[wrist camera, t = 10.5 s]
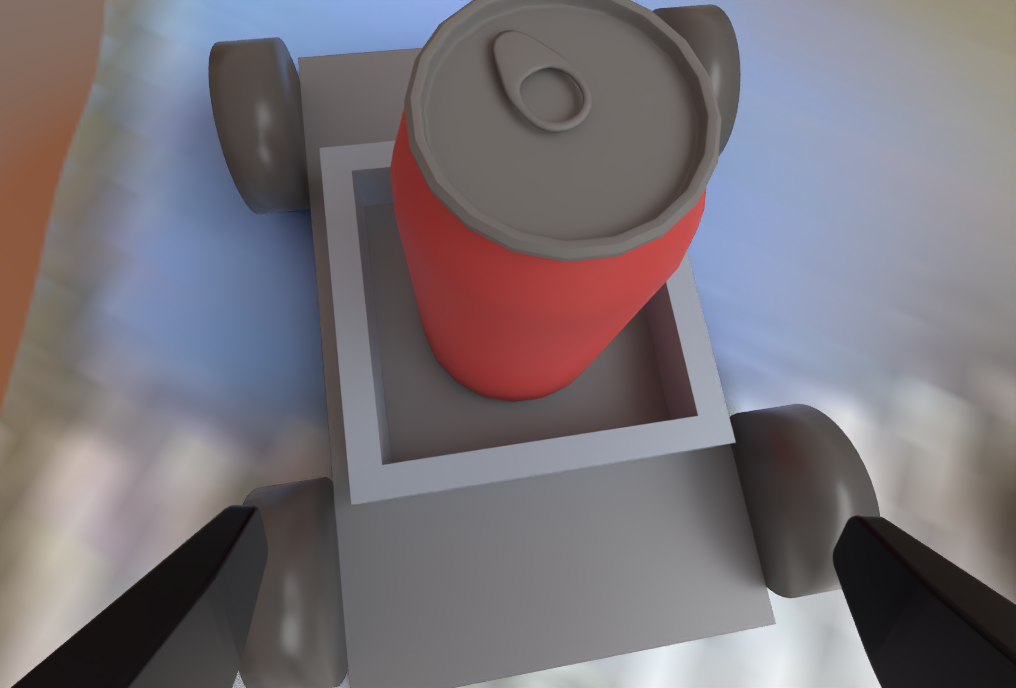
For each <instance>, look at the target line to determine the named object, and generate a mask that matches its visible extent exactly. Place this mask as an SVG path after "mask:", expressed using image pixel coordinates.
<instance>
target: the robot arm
mask: <svg viewBox="0 0 1016 688" xmlns="http://www.w3.org/2000/svg"><path fill="white" fill-rule="evenodd" d="M267 558H268V542H267V537H266V532H265V527H264V522H263V517H262V513H261V510H260V509H259V508H258V507H257V506H243V505H233V506H229V507H227V508H226V509H224V510H223V511H222V512H221V513H219V514H218V515H217V516H216V517H215V518H213V519H212V520H211V521H210V522H209V523H207V524H206V525H205V526H204V527H203V528H201V529H200V530H199V531H198V532H197V533H195V534H194V535H193V536H192V537H191V538H189V539H188V540H187V541H186V542H185V543H183V544H182V545H181V546H180V547H179V548H178V549H176V550H175V551H174V552H173V553H172V554H170V555H169V556H168V557H167V558H166V559H164V560H163V561H162V562H161V563H160V564H158V565H157V566H156V567H155V568H154V569H152V570H151V571H150V572H149V573H148V574H146V575H145V576H144V577H143V578H142V579H140V580H139V581H138V582H137V583H136V584H134V585H133V586H132V587H131V588H130V589H128V590H127V591H126V592H125V593H124V594H122V595H121V596H120V597H119V598H118V599H116V600H115V601H114V602H113V603H112V604H110V605H109V606H108V607H107V608H106V609H104V610H103V611H102V612H101V613H100V614H98V615H97V616H96V617H95V618H94V619H92V620H91V621H90V622H89V623H88V624H86V625H85V626H84V627H83V628H82V629H80V630H79V631H78V632H77V633H76V634H74V635H73V636H72V637H71V638H70V639H68V640H67V641H66V642H65V643H64V644H63V645H61V646H60V647H59V648H58V649H57V650H55V651H54V652H53V653H52V654H51V655H49V656H48V657H47V658H46V659H45V660H43V661H42V662H41V663H40V664H39V665H37V666H36V667H35V668H34V669H33V670H31V671H30V672H29V673H28V674H27V675H25V676H24V677H23V678H22V679H21V680H19V681H18V682H17V683H16V684H15V685H13V686H12V687H11V688H232V687H233V684H234V681H235V678H236V676H237V673H238V670H239V667H240V664H241V660H242V656H243V653H244V649H245V645H246V641H247V638H248V634H249V630H250V626H251V622H252V618H253V614H254V610H255V606H256V602H257V598H258V594H259V590H260V586H261V582H262V578H263V574H264V571H265V567H266V563H267ZM832 560H833V566H834V569H835V572H836V574H837V577H838V580H839V582H840V585H841V588H842V590H843V593H844V596H845V598H846V601H847V604H848V606H849V609H850V612H851V614H852V617H853V620H854V622H855V625H856V628H857V630H858V633H859V636H860V638H861V641H862V644H863V646H864V649H865V651H866V654H867V656H868V659H869V661H870V664H871V666H872V668H873V670H874V673H875V675H876V677H877V679H878V681H879V683H880V685H881V687H882V688H1016V604H1014V603H1012V602H1011V601H1009V600H1008V599H1006V598H1005V597H1003V596H1002V595H1000V594H999V593H997V592H996V591H994V590H993V589H991V588H990V587H988V586H987V585H985V584H984V583H982V582H981V581H979V580H978V579H976V578H974V577H973V576H971V575H970V574H968V573H967V572H965V571H964V570H962V569H961V568H959V567H958V566H956V565H955V564H953V563H952V562H950V561H949V560H947V559H946V558H944V557H943V556H941V555H939V554H938V553H936V552H935V551H933V550H932V549H930V548H929V547H927V546H926V545H924V544H923V543H921V542H920V541H918V540H917V539H915V538H914V537H912V536H911V535H909V534H908V533H906V532H905V531H903V530H901V529H900V528H898V527H897V526H895V525H894V524H892V523H891V522H889V521H888V520H886V519H885V518H883V517H880V516H876V515H854V516H852V517H850V518H849V519H848V521H847V522H846V524H845V526H844V528H843V531H842V533H841V535H840V537H839V539H838V541H837V543H836V545H835V547H834V549H833V554H832Z"/></svg>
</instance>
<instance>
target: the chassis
mask: <svg viewBox="0 0 1016 688" xmlns="http://www.w3.org/2000/svg"><path fill="white" fill-rule="evenodd" d="M652 12H653V13H655V14H656V15H657V16H658V17H659V18H660V19H662V20H663V21H664V22H665V23H666V24H667V25H669V26H670V27H671V28H672V29H673V30H674V31H676V32H677V33H678V34H679V35H680V36H681V37H683V38H684V39H685V40H686V41H687V43H688V44H689V46H690V47H691V49H692V50H693V52H694V53H695V55H696V56H697V58H698V60H699V61H700V63H701V64H702V66H703V67H704V69H705V70H706V72H707V73H708V75H709V76H710V78H711V82H712V86H713V89H714V93H715V97H716V101H717V104H718V108H719V112H720V116H721V119H722V120H721V132H720V143H719V155H718V157H719V156H720V154H721V153H722V151H723V150H724V148H725V146H726V144H727V142H728V140H729V137H730V135H731V132H732V129H733V125H734V122H735V118H736V113H737V108H738V102H739V93H740V58H739V50H738V44H737V39H736V36H735V32H734V29H733V26H732V24H731V22H730V20H729V18H728V16H727V15H726V14H725V12H724V11H723V10H722V9H721V8H719V7H717V6H716V5H698V6H684V7H671V8H659V9H655V10H654V11H652ZM422 49H423V48H415V49H402V50H390V51H377V52H365V53H352V54H340V55H327V56H315V57H302V58H298V62H299V75H300V80H299V77H298V74H297V71H296V68H295V65H294V63H293V60H292V58H291V55H290V53H289V51H288V49H287V47H286V45H285V44H284V42H283V41H282V40H281V39H280V38H264V39H250V40H237V41H224V42H217V43H215V44H214V45H213V46H212V49H211V52H210V57H209V88H210V96H211V103H212V109H213V115H214V119H215V124H216V128H217V132H218V137H219V140H220V144H221V147H222V150H223V154H224V157H225V160H226V163H227V165H228V168H229V171H230V173H231V176H232V178H233V180H234V183H235V185H236V187H237V189H238V191H239V193H240V195H241V196H242V198H243V200H244V201H245V203H246V204H247V206H248V207H249V208H250V209H251V210H252V211H253V212H254V213H256V214H269V213H278V212H287V211H297V210H306V209H311V221H312V233H313V245H314V257H315V269H316V282H317V294H318V306H319V318H320V330H321V342H322V355H323V367H324V379H325V391H326V403H327V415H328V428H329V440H330V452H331V464H332V476H333V483H332V481H331V480H330V479H328V478H326V477H325V478H318V479H312V480H305V481H299V482H292V483H286V484H280V485H273V486H267V487H260V488H256V489H255V490H253V491H252V492H251V493H250V494H249V495H248V497H247V498H246V500H245V501H244V503H243V506H257V507H258V508H259V509H260V510H261V513H262V517H263V522H264V527H265V532H266V537H267V542H268V558H267V563H266V567H265V571H264V574H263V578H262V582H261V586H260V590H259V594H258V598H257V602H256V606H255V610H254V614H253V618H252V622H251V626H250V630H249V634H248V638H247V641H246V645H245V649H244V653H243V656H242V660H241V664H240V667H239V673H240V676H241V678H242V680H243V683H244V685H245V687H246V688H332V687H337V686H339V685H340V684H341V683H342V682H343V680H344V678H345V675H346V672H347V669H348V671H349V683H350V688H455V687H460V686H465V685H470V684H476V683H481V682H486V681H491V680H496V679H501V678H506V677H511V676H516V675H521V674H526V673H531V672H536V671H541V670H546V669H551V668H556V667H561V666H566V665H571V664H576V663H581V662H586V661H591V660H597V659H602V658H607V657H612V656H617V655H622V654H627V653H632V652H637V651H642V650H647V649H652V648H657V647H662V646H667V645H672V644H677V643H682V642H687V641H692V640H697V639H702V638H707V637H713V636H718V635H723V634H728V633H733V632H738V631H743V630H748V629H753V628H758V627H763V626H768V625H773V624H776V623H775V619H774V615H773V611H772V607H771V603H770V599H769V595H768V591H767V588H769V589H770V590H771V591H773V592H774V593H776V594H777V595H780V596H782V597H786V598H796V597H801V596H807V595H812V594H817V593H822V592H827V591H832V590H837V589H842V588H841V585H840V582H839V580H838V577H837V574H836V572H835V569H834V566H833V560H832V554H833V549H834V547H835V545H836V543H837V541H838V539H839V537H840V535H841V533H842V531H843V528H844V526H845V524H846V522H847V521H848V519H849V518H850V517H852V516H854V515H876V516H880V513H879V507H878V502H877V499H876V495H875V491H874V488H873V485H872V482H871V479H870V477H869V474H868V472H867V470H866V468H865V465H864V463H863V461H862V459H861V458H860V456H859V454H858V452H857V450H856V449H855V447H854V446H853V444H852V443H851V441H850V440H849V438H848V437H847V436H846V435H845V433H844V432H843V431H842V430H841V429H840V428H839V426H838V425H837V424H836V423H835V422H834V421H832V420H831V419H830V418H829V417H828V416H827V415H825V414H824V413H822V412H821V411H819V410H817V409H815V408H813V407H811V406H807V405H804V404H793V405H786V406H780V407H774V408H767V409H761V410H754V411H748V412H742V413H736V414H734V415H732V416H731V417H729V414H728V410H727V406H726V402H725V398H724V394H723V390H722V386H721V382H720V378H719V374H718V370H717V366H716V362H715V358H714V354H713V351H712V347H711V343H710V339H709V335H708V331H707V327H706V323H705V319H704V315H703V311H702V307H701V303H700V299H699V295H698V291H697V287H696V283H695V279H694V275H693V271H692V267H691V264H690V260H689V256H688V252H687V251H686V253H685V255H684V257H683V259H682V262H681V264H680V266H679V268H678V269H677V270H676V271H675V272H674V273H673V274H672V275H671V277H670V278H669V279H668V280H667V281H666V282H665V283H664V284H663V285H662V286H661V287H660V289H659V290H658V291H657V292H656V293H655V294H654V295H653V296H652V297H651V298H650V299H649V301H648V302H647V303H646V304H645V305H644V306H643V307H642V308H641V309H640V310H639V311H638V313H637V314H636V315H635V316H634V317H633V318H632V319H631V320H630V321H629V322H628V323H627V324H626V326H625V327H624V328H623V329H622V330H621V331H620V332H619V333H618V334H617V335H616V336H615V338H614V339H613V340H612V341H611V342H610V343H609V344H608V345H607V346H606V347H605V348H604V350H603V351H602V352H601V353H600V354H599V355H598V356H597V357H596V358H595V359H594V360H593V361H592V363H591V364H590V365H589V366H588V367H587V368H586V369H585V370H584V371H583V372H582V373H581V374H580V375H579V376H578V377H577V378H576V379H575V380H573V381H572V382H571V383H570V384H569V385H568V386H566V387H564V388H562V389H560V390H558V391H556V392H554V393H552V394H550V395H548V396H546V397H544V398H539V399H532V400H524V401H516V402H511V401H505V400H500V399H494V398H489V397H484V396H482V395H480V394H478V393H476V392H474V391H472V390H471V389H469V388H467V387H465V386H463V385H461V384H459V383H458V382H457V381H456V380H455V379H454V378H453V377H452V376H451V375H450V374H449V373H448V372H447V371H446V370H445V369H444V368H443V367H442V366H441V365H440V364H439V363H438V361H437V360H436V357H435V355H434V353H433V351H432V349H431V347H430V345H429V342H428V340H427V338H426V336H425V333H424V329H423V325H422V321H421V317H420V313H419V309H418V305H417V301H416V297H415V293H414V289H413V285H412V281H411V277H410V273H409V269H408V265H407V261H406V257H405V253H404V249H403V245H402V241H401V237H400V233H399V229H398V225H397V221H396V217H395V212H394V202H393V192H392V183H391V173H390V166H391V160H392V154H393V149H394V145H395V141H396V137H397V133H398V129H399V126H400V122H401V118H402V114H403V110H404V107H405V105H404V99H405V95H406V92H407V88H408V84H409V80H410V76H411V72H412V69H413V65H414V61H415V58H416V57H417V56H418V54H419V53H420V51H421V50H422Z"/></svg>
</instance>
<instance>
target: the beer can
mask: <svg viewBox="0 0 1016 688" xmlns="http://www.w3.org/2000/svg"><path fill="white" fill-rule="evenodd" d="M404 105H405V107H404V110H403V114H402V118H401V122H400V126H399V129H398V133H397V137H396V141H395V145H394V149H393V154H392V160H391V166H390V173H391V183H392V192H393V202H394V212H395V217H396V221H397V225H398V229H399V233H400V237H401V241H402V245H403V249H404V253H405V257H406V261H407V265H408V269H409V273H410V277H411V281H412V285H413V289H414V293H415V297H416V301H417V305H418V309H419V313H420V317H421V321H422V325H423V329H424V333H425V336H426V338H427V340H428V342H429V345H430V347H431V349H432V351H433V353H434V355H435V357H436V360H437V361H438V363H439V364H440V365H441V366H442V367H443V368H444V369H445V370H446V371H447V372H448V373H449V374H450V375H451V376H452V377H453V378H454V379H455V380H456V381H457V382H458V383H459V384H461V385H463V386H465V387H467V388H469V389H471V390H472V391H474V392H476V393H478V394H480V395H482V396H484V397H489V398H494V399H500V400H505V401H511V402H516V401H524V400H532V399H539V398H544V397H546V396H548V395H550V394H552V393H554V392H556V391H558V390H560V389H562V388H564V387H566V386H568V385H569V384H570V383H571V382H572V381H573V380H575V379H576V378H577V377H578V376H579V375H580V374H581V373H582V372H583V371H584V370H585V369H586V368H587V367H588V366H589V365H590V364H591V363H592V361H593V360H594V359H595V358H596V357H597V356H598V355H599V354H600V353H601V352H602V351H603V350H604V348H605V347H606V346H607V345H608V344H609V343H610V342H611V341H612V340H613V339H614V338H615V336H616V335H617V334H618V333H619V332H620V331H621V330H622V329H623V328H624V327H625V326H626V324H627V323H628V322H629V321H630V320H631V319H632V318H633V317H634V316H635V315H636V314H637V313H638V311H639V310H640V309H641V308H642V307H643V306H644V305H645V304H646V303H647V302H648V301H649V299H650V298H651V297H652V296H653V295H654V294H655V293H656V292H657V291H658V290H659V289H660V287H661V286H662V285H663V284H664V283H665V282H666V281H667V280H668V279H669V278H670V277H671V275H672V274H673V273H674V272H675V271H676V270H677V269H678V268H679V266H680V264H681V262H682V259H683V257H684V255H685V253H686V251H687V249H688V247H689V245H690V243H691V241H692V239H693V237H694V235H695V232H696V230H697V228H698V226H699V223H700V220H701V217H702V214H703V211H704V206H705V195H706V185H707V183H708V181H709V179H710V177H711V175H712V173H713V171H714V169H715V167H716V165H717V163H718V155H719V143H720V132H721V120H722V119H721V116H720V112H719V108H718V104H717V101H716V97H715V93H714V89H713V86H712V82H711V78H710V76H709V75H708V73H707V72H706V70H705V69H704V67H703V66H702V64H701V63H700V61H699V60H698V58H697V56H696V55H695V53H694V52H693V50H692V49H691V47H690V46H689V44H688V43H687V41H686V40H685V39H684V38H683V37H681V36H680V35H679V34H678V33H677V32H676V31H674V30H673V29H672V28H671V27H670V26H669V25H667V24H666V23H665V22H664V21H663V20H662V19H660V18H659V17H658V16H657V15H656V14H655V13H653V12H652V11H651V10H649V9H647V8H645V7H643V6H641V5H639V4H637V3H635V2H633V1H631V0H473V1H471V2H470V3H468V4H467V5H466V6H464V7H463V8H461V9H460V10H459V11H457V12H456V13H455V14H453V15H452V16H450V17H449V18H448V19H446V20H445V21H443V22H442V23H441V24H439V26H438V27H437V29H436V30H435V32H434V33H433V34H432V36H431V37H430V39H429V40H428V41H427V43H426V44H425V46H424V47H423V49H422V50H421V51H420V53H419V54H418V56H417V57H416V58H415V61H414V65H413V69H412V72H411V76H410V80H409V84H408V88H407V92H406V95H405V99H404Z"/></svg>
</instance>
